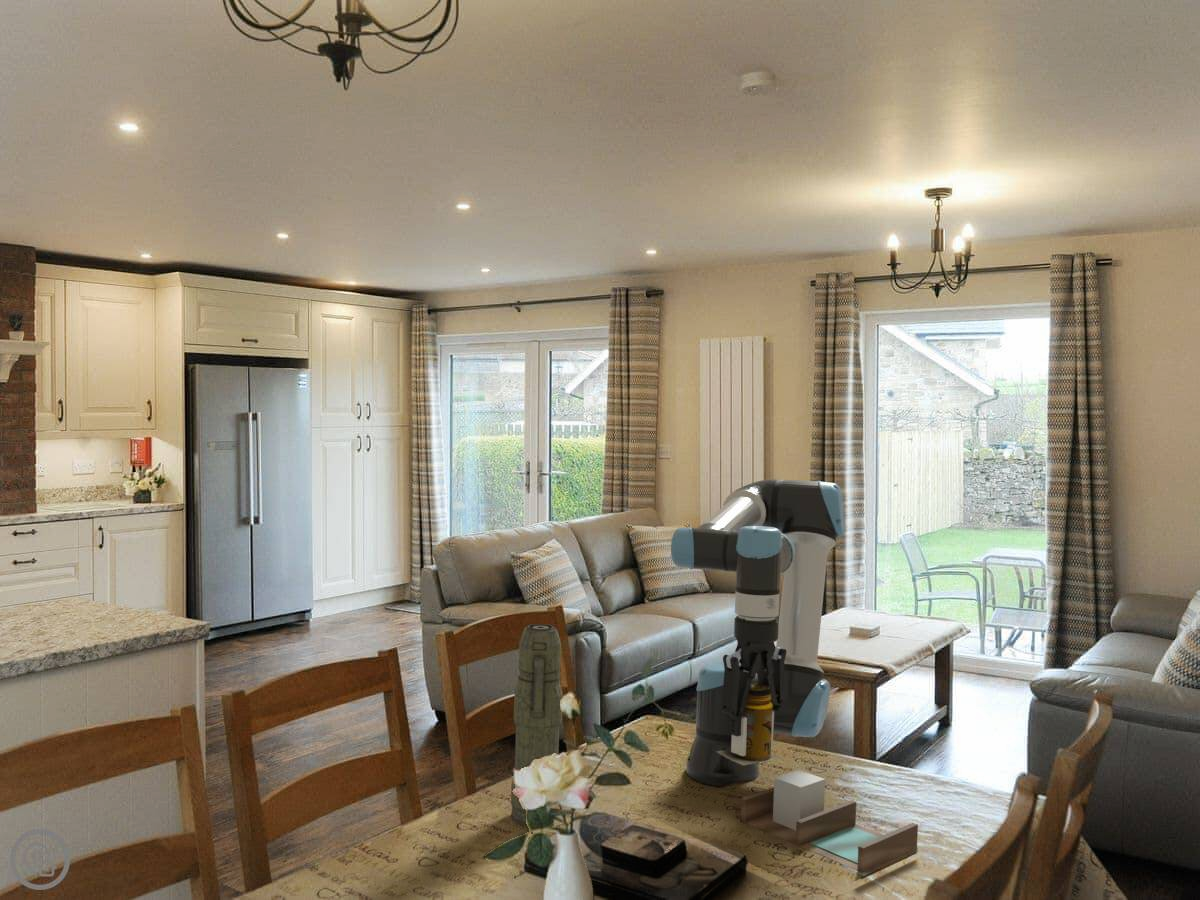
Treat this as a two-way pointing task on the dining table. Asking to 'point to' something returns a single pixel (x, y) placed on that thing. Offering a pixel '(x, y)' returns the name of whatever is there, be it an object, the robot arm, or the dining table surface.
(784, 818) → the block
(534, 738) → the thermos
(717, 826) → the dining table surface
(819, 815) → the rack
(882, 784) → the dining table surface
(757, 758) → the condiment
